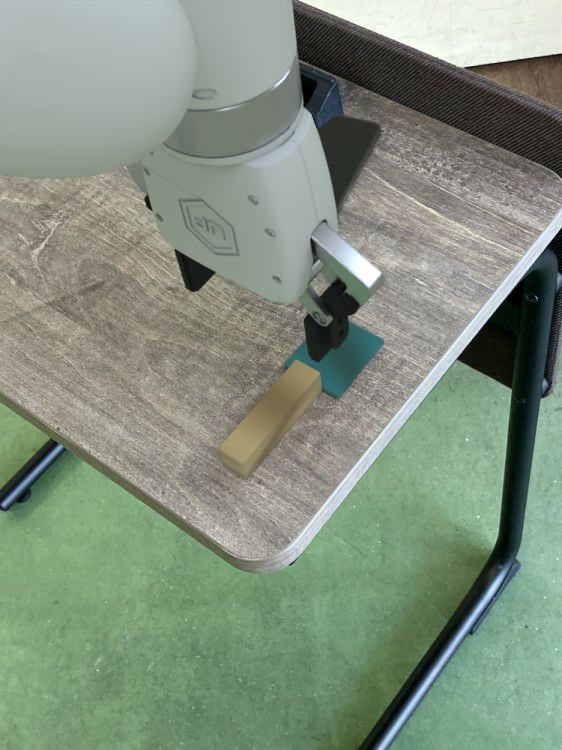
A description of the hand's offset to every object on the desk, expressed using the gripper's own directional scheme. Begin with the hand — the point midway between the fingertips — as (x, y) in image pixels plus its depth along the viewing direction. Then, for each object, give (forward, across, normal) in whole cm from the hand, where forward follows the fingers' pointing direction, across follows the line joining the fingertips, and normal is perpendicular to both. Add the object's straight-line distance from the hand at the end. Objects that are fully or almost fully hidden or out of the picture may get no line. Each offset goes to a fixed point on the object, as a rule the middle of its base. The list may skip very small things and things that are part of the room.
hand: (265, 309), depth 59 cm
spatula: (+13, 0, +2) cm, 13 cm away
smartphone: (+13, -12, +20) cm, 26 cm away
